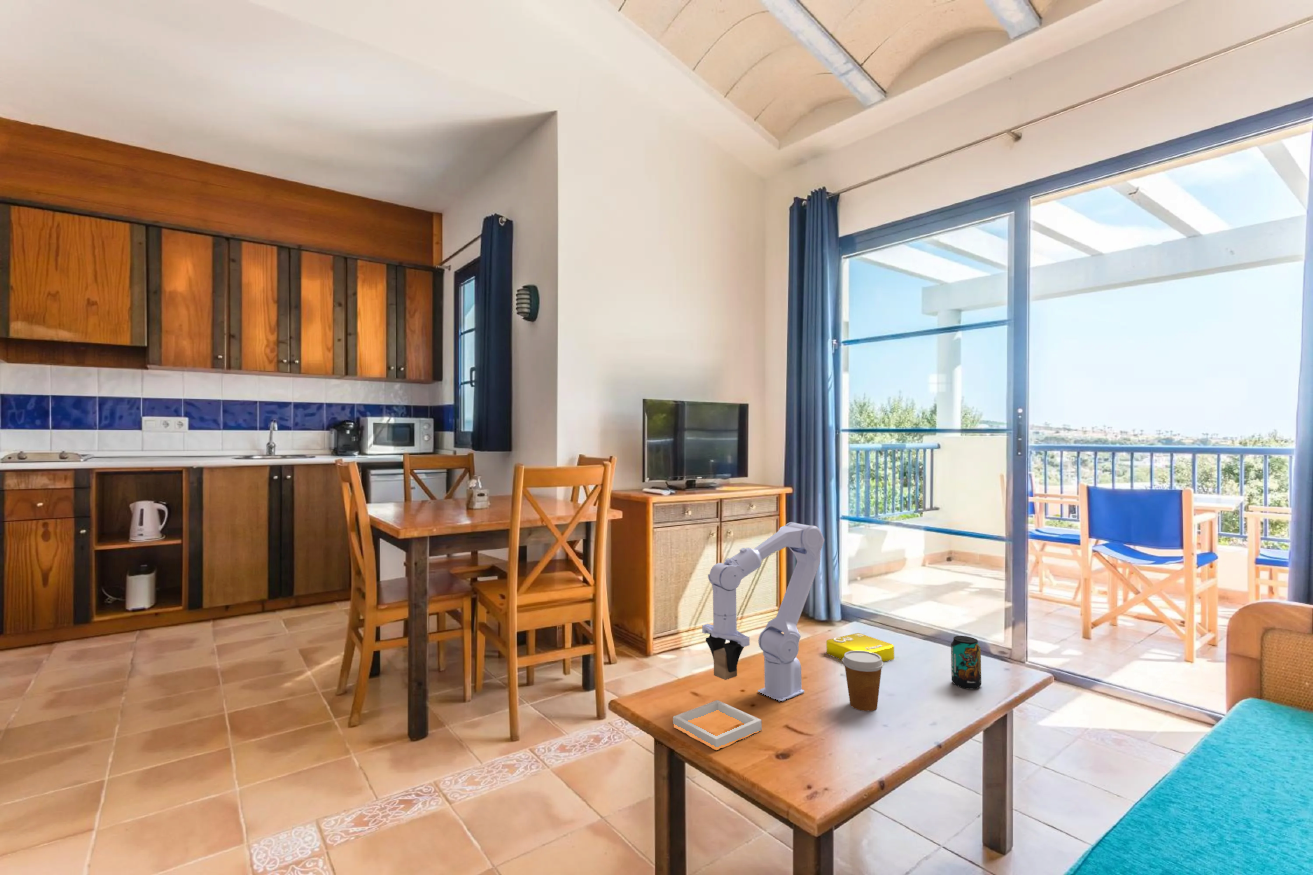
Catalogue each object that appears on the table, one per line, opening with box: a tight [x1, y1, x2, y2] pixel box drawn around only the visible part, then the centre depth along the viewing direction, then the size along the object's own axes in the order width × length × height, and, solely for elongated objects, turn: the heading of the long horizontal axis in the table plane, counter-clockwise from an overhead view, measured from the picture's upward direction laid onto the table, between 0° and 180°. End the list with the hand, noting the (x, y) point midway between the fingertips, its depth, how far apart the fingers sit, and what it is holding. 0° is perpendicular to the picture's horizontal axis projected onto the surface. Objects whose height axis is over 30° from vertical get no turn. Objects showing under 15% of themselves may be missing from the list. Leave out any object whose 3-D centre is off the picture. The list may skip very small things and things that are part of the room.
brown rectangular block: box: [713, 648, 738, 681], centre depth 149 cm, size 4×4×6 cm
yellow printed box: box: [825, 632, 895, 663], centre depth 183 cm, size 15×15×5 cm
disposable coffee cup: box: [841, 650, 885, 712], centre depth 148 cm, size 10×10×12 cm
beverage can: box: [950, 635, 982, 690], centre depth 160 cm, size 7×7×12 cm
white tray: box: [672, 699, 763, 747], centre depth 136 cm, size 14×14×2 cm
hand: (725, 668), depth 149 cm, fingers closed on brown rectangular block, 4 cm apart
